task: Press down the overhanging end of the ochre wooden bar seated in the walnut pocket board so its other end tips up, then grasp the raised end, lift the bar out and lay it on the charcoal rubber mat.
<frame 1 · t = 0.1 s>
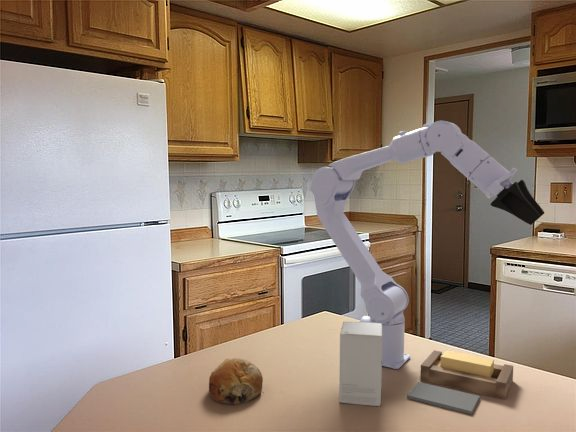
hand: (538, 218, 87), 32 cm above the countertop, tool tilted 50°, fingers open, 7 cm apart
pocket board: (468, 380, 94), on the countertop
bar: (466, 370, 94), point 2 cm above the countertop, touching pocket board
mat: (443, 398, 87), on the countertop
bread roll: (235, 394, 90), on the countertop
supplement box: (360, 396, 88), on the countertop
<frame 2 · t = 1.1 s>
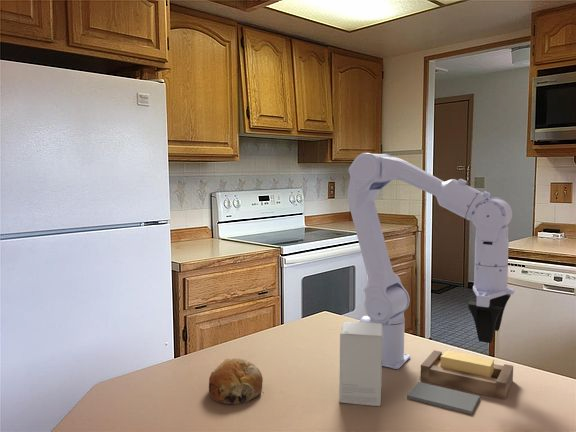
hand: (489, 335, 92), 10 cm above the countertop, tool pointing down, fingers open, 7 cm apart
nothing on the countertop moved.
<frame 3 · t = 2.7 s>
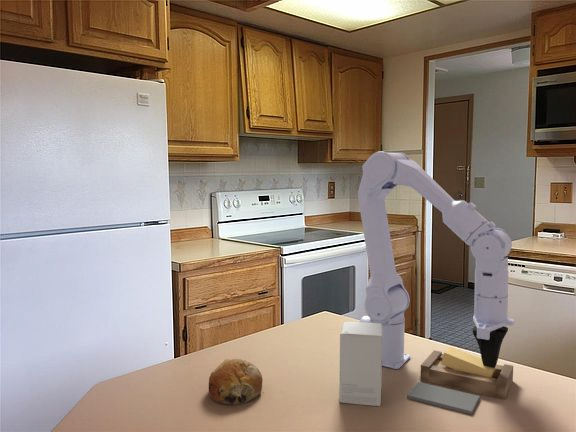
hand: (489, 365, 92), 4 cm above the countertop, tool pointing down, fingers closed, pressing on bar
bar: (466, 370, 94), point 2 cm above the countertop, tilted 12°, touching gripper, pocket board
everything else where it was.
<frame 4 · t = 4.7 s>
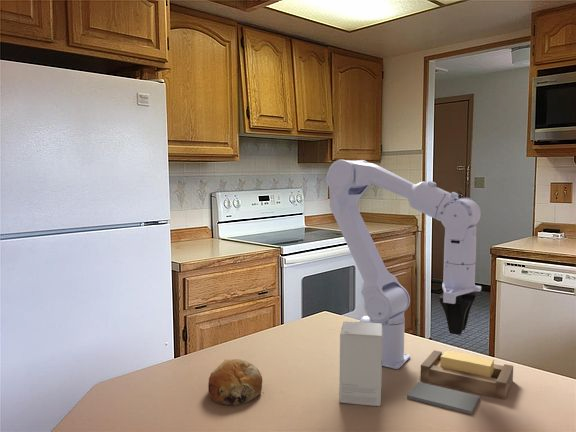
hand: (457, 331, 95), 9 cm above the countertop, tool pointing down, fingers closed
bar: (466, 370, 94), point 2 cm above the countertop, touching pocket board
everything else where it was.
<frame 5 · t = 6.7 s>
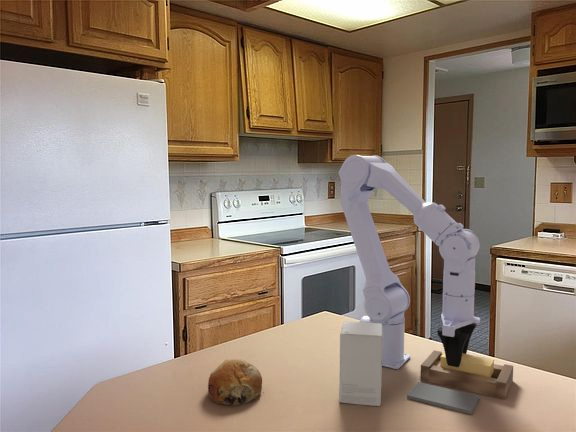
hand: (456, 361, 95), 3 cm above the countertop, tool pointing down, fingers closed on bar, 4 cm apart
bar: (466, 370, 94), point 2 cm above the countertop, touching gripper, pocket board
everything else where it was.
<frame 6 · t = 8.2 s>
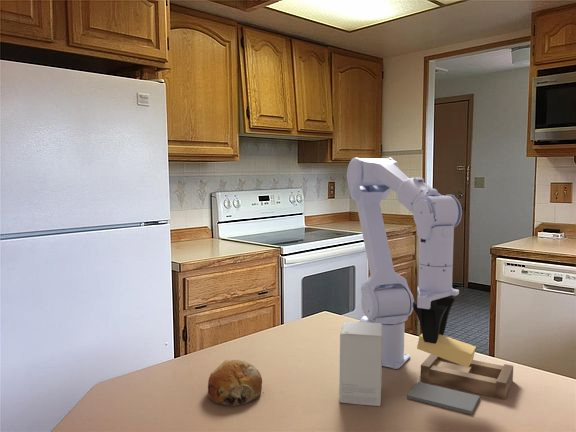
hand: (433, 338, 88), 10 cm above the countertop, tool pointing down, fingers closed on bar, 4 cm apart
bar: (444, 354, 87), point 8 cm above the countertop, tilted 10°, touching gripper
everything else where it was.
when the fingers open (5 cm above the countertop, at t = 9.8 s): bar drops 1 cm, resting on mat.
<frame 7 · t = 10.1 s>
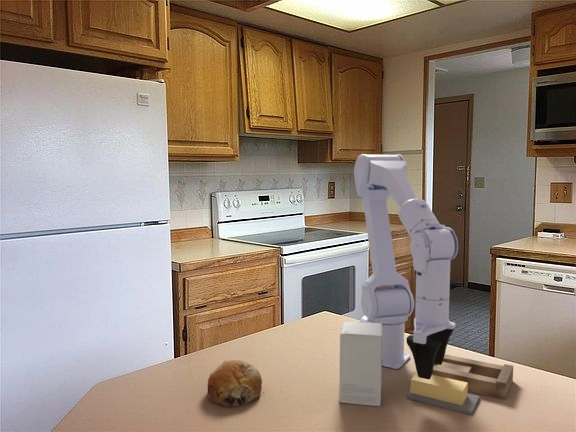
hand: (430, 370, 88), 5 cm above the countertop, tool pointing down, fingers open, 7 cm apart
bar: (438, 394, 87), point 1 cm above the countertop, touching mat
everything else where it was.
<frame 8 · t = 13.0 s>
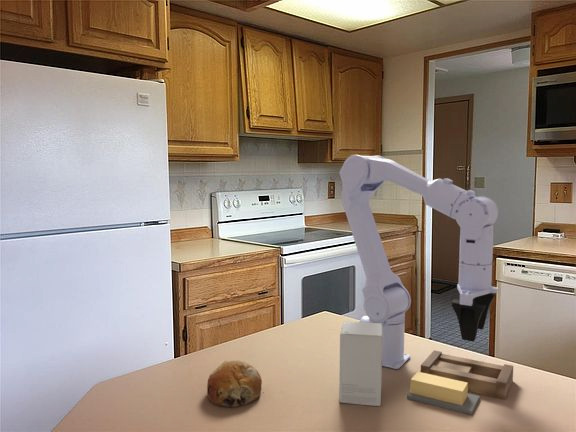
hand: (473, 334, 92), 10 cm above the countertop, tool pointing down, fingers open, 7 cm apart
at the end: bar inside the target area on the mat (0.8 cm from its centre), point 0.6 cm above the mat's base; bar touching mat; the gripper is holding nothing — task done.
